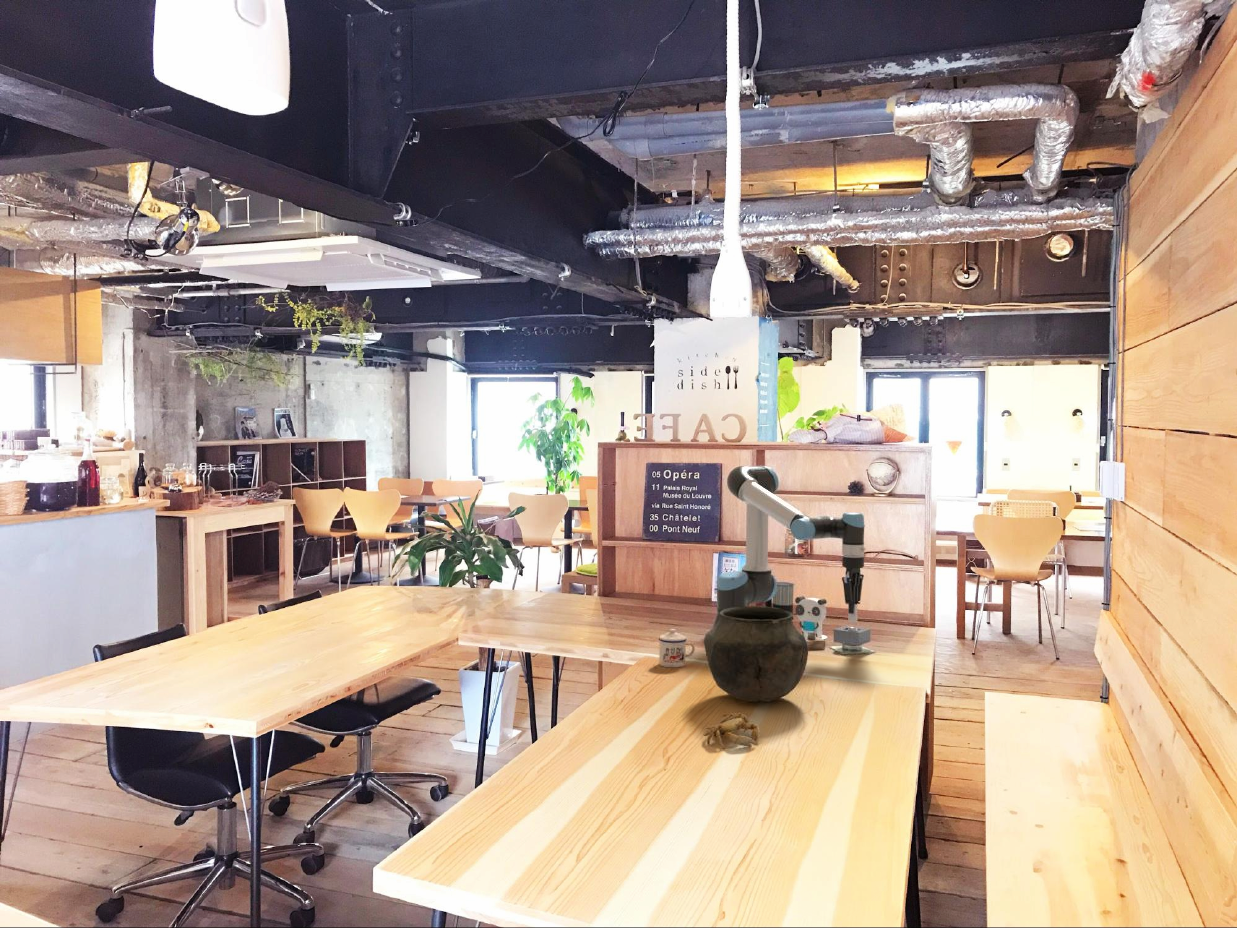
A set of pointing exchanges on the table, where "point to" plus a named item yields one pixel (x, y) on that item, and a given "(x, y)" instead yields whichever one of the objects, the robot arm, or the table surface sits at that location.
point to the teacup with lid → (673, 649)
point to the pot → (756, 653)
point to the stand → (814, 641)
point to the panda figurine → (811, 615)
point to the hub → (851, 647)
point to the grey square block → (852, 635)
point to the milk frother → (782, 597)
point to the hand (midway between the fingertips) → (852, 622)
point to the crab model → (733, 725)
